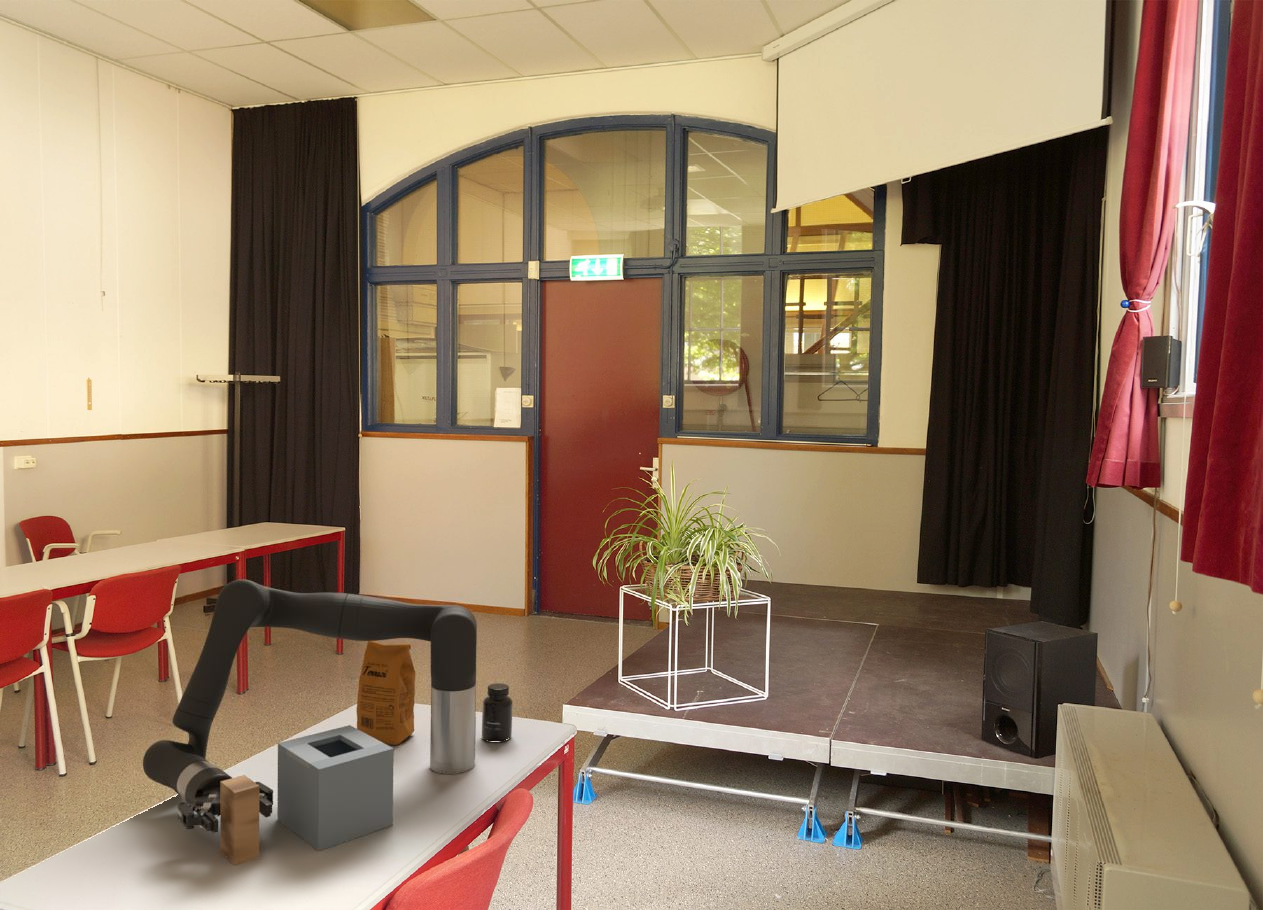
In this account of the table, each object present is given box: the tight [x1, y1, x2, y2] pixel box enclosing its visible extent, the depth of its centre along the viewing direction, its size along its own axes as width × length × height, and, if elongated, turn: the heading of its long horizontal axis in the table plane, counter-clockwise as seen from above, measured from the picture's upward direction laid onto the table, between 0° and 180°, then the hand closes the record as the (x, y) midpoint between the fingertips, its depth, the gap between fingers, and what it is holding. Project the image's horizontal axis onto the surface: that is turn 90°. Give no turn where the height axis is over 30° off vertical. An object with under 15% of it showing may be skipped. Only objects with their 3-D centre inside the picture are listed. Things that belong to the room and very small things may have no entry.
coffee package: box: [356, 641, 416, 746], centre depth 203 cm, size 10×12×22 cm
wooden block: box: [219, 774, 260, 866], centre depth 148 cm, size 6×4×12 cm, turn 45°
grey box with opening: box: [276, 724, 395, 852], centre depth 160 cm, size 16×14×14 cm
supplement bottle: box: [481, 682, 514, 742], centre depth 204 cm, size 7×7×12 cm
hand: (243, 818), depth 147 cm, fingers open, 8 cm apart
